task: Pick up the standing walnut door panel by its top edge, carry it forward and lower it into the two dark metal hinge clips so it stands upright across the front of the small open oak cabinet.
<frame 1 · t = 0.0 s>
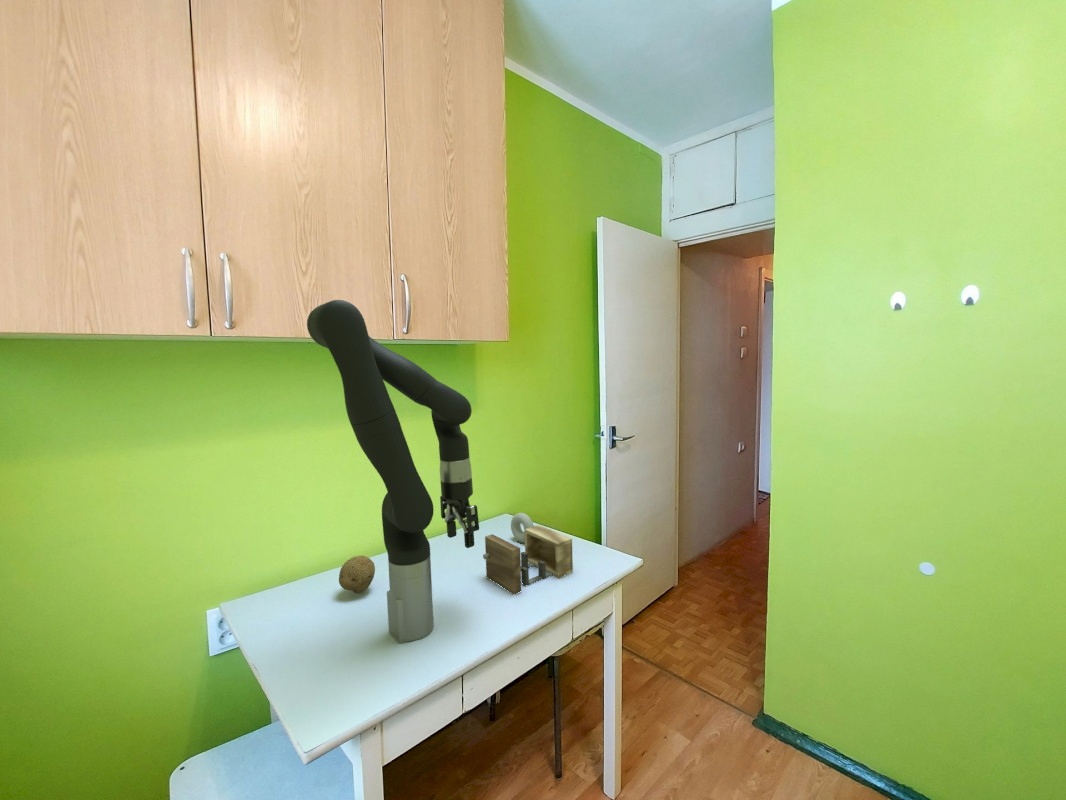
hand: (460, 541, 113), 17 cm above the table, tool pointing down, fingers open, 8 cm apart
cabinet: (548, 566, 137), on the table
door: (503, 584, 126), on the table
brown potato: (358, 593, 124), on the table
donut: (522, 542, 156), on the table
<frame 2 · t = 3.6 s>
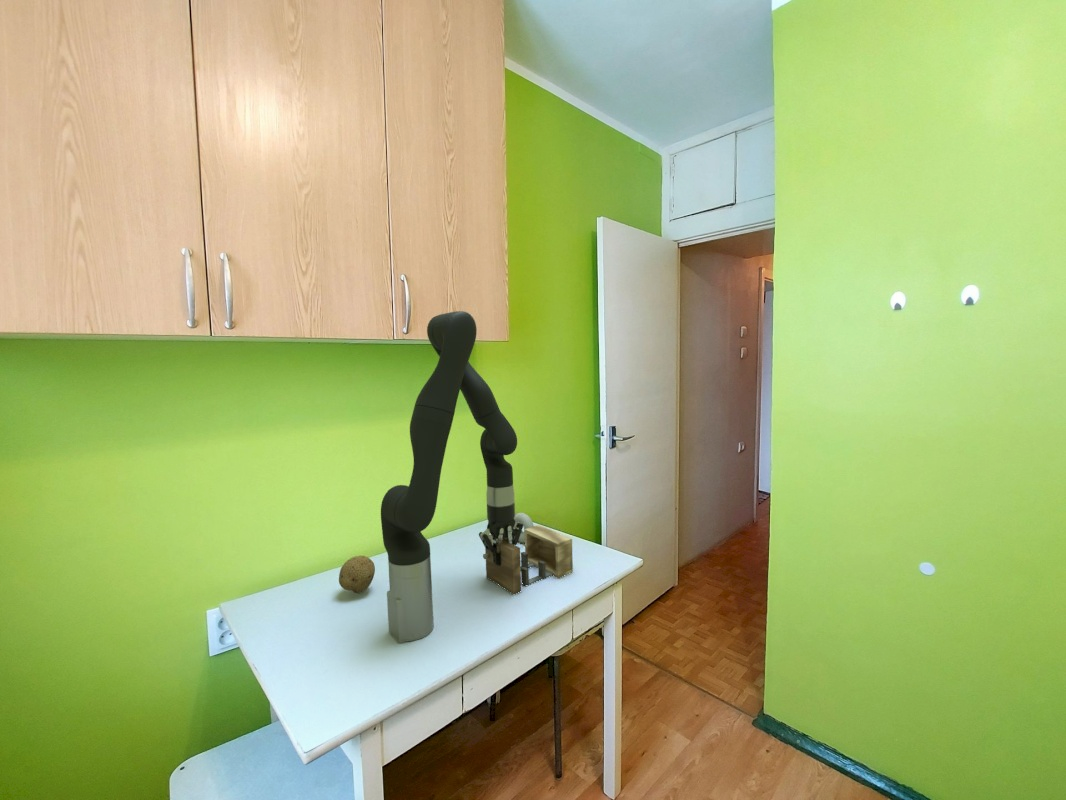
hand: (502, 562, 126), 6 cm above the table, tool pointing down, fingers closed on door, 2 cm apart
door: (503, 584, 126), on the table, touching gripper
everything else where it was.
when the fingers open (7 cm above the table, at t = 9.1 s): door drops 2 cm, resting on cabinet.
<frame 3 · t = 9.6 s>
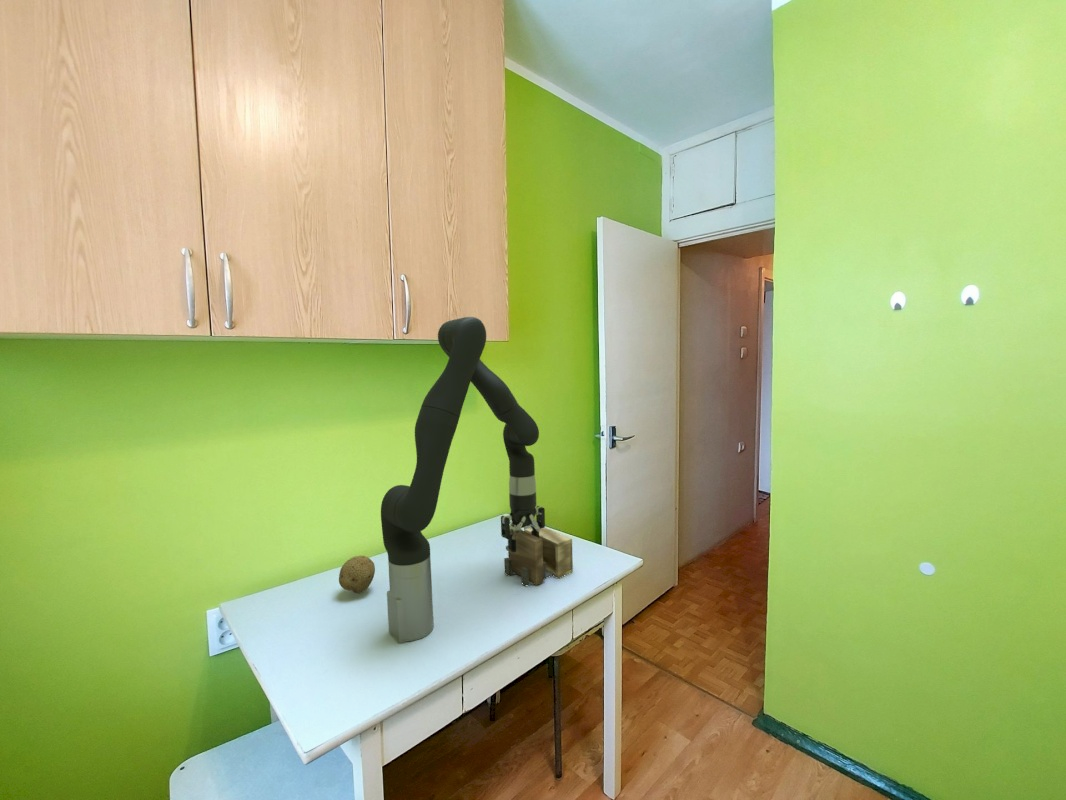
hand: (524, 547, 130), 8 cm above the table, tool pointing down, fingers open, 7 cm apart
door: (525, 575, 131), resting on cabinet
everything else where it was.
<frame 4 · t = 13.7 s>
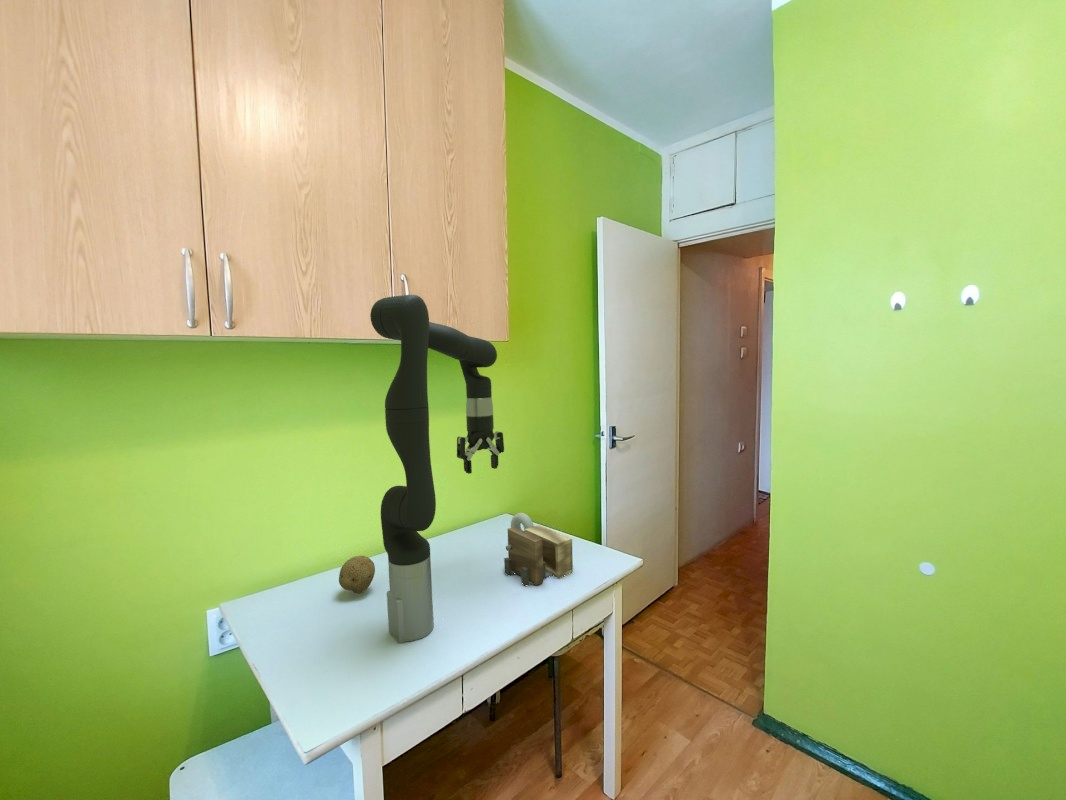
hand: (481, 470, 131), 30 cm above the table, tool pointing down, fingers open, 8 cm apart
nothing on the table moved.
at the end: door 0.7 cm from the target spot, on the table; door tilted 0°; the gripper is holding nothing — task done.
